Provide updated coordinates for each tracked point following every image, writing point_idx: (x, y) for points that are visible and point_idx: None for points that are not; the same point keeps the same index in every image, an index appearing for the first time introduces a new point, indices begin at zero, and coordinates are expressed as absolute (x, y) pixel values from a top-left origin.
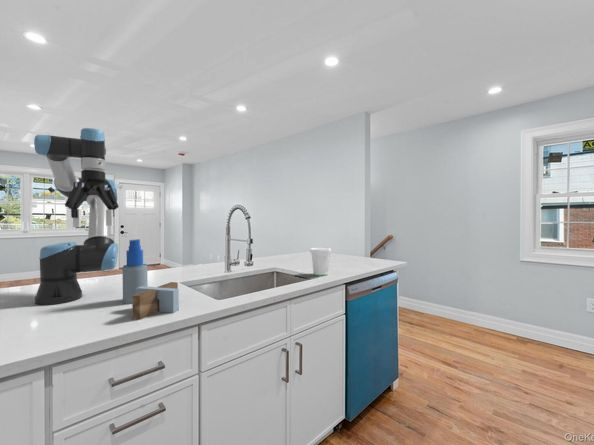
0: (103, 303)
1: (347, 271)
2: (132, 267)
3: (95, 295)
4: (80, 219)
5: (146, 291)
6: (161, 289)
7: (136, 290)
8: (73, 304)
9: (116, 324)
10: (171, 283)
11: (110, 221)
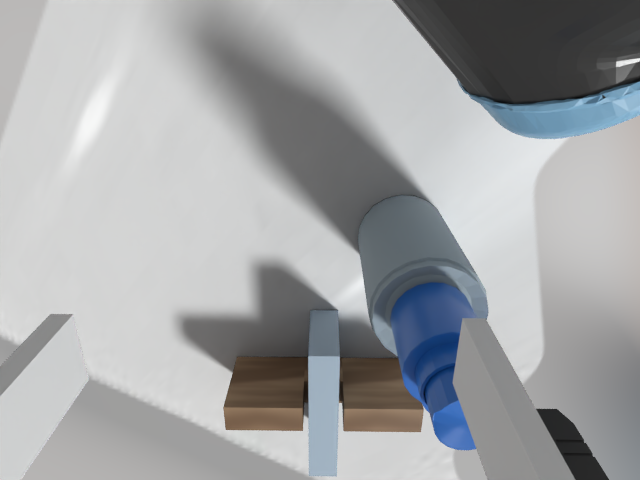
0: (339, 146)
1: None
2: (379, 338)
3: None
4: (40, 441)
5: (277, 415)
6: (314, 438)
7: (308, 352)
8: (296, 27)
9: (189, 347)
10: (401, 422)
11: (467, 407)
